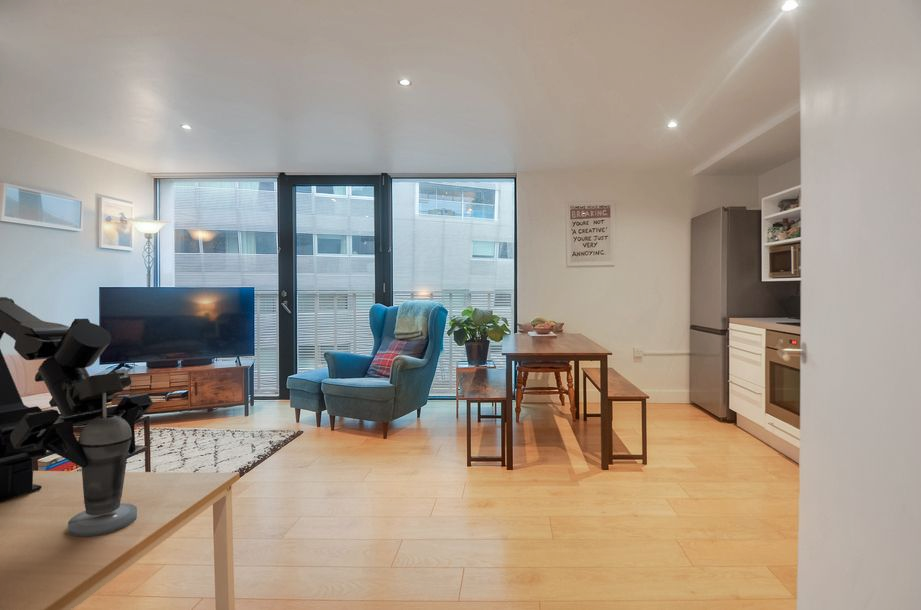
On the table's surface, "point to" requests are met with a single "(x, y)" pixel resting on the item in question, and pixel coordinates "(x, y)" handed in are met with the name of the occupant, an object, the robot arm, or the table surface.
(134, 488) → the table surface
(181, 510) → the table surface
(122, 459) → the beverage cup
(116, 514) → the slate dish
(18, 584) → the table surface
